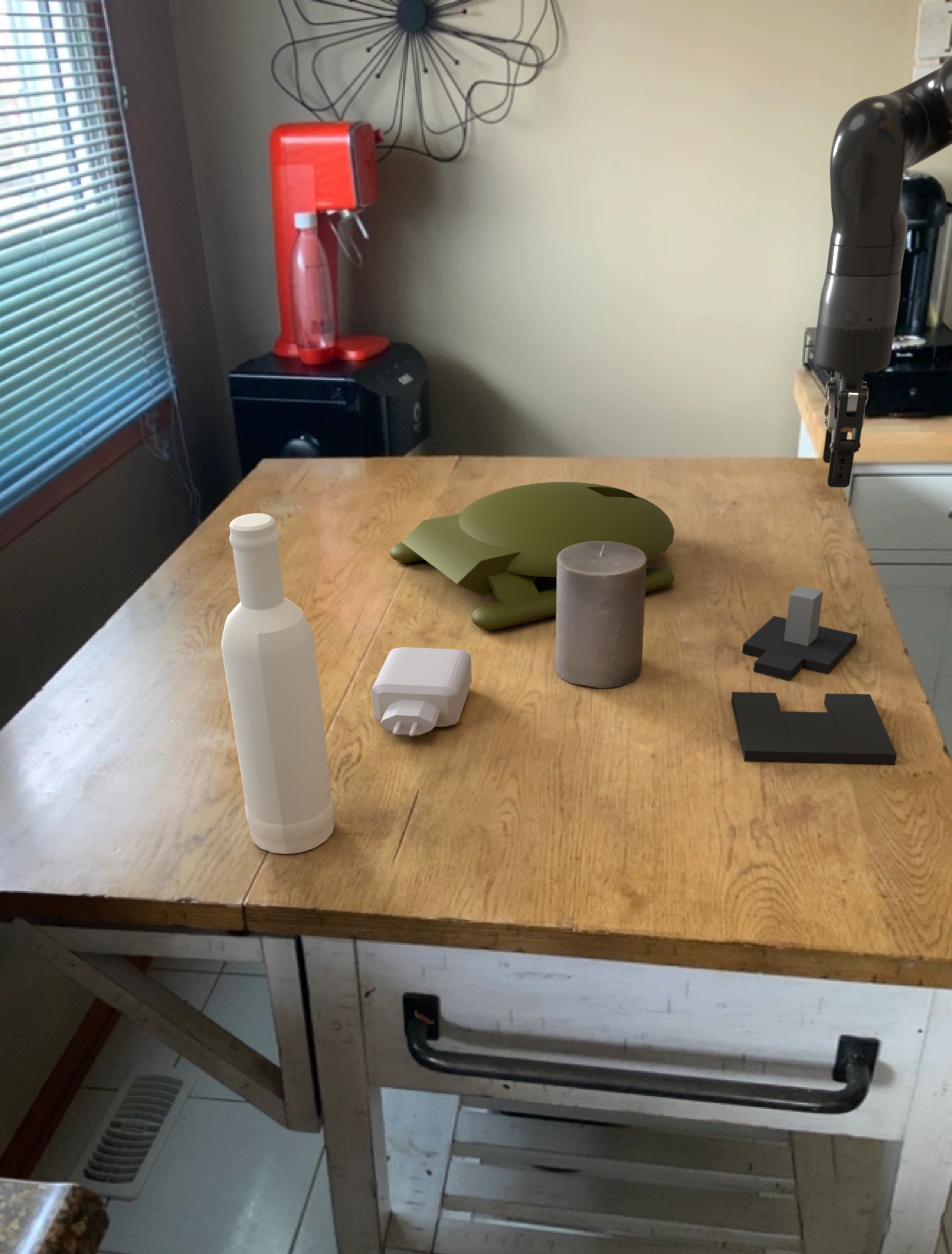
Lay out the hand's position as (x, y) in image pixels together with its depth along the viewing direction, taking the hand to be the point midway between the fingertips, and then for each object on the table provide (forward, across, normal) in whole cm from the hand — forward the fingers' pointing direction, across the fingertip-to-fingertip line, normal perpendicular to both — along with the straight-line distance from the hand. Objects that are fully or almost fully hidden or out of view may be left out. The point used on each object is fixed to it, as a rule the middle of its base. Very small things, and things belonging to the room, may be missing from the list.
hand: (835, 473), depth 123 cm
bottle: (+20, -48, +48) cm, 70 cm away
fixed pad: (+20, -22, +1) cm, 30 cm away
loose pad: (+20, -5, +2) cm, 20 cm away
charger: (+20, -26, +41) cm, 53 cm away
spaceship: (+20, +17, +34) cm, 43 cm away
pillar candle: (+20, -12, +24) cm, 33 cm away
